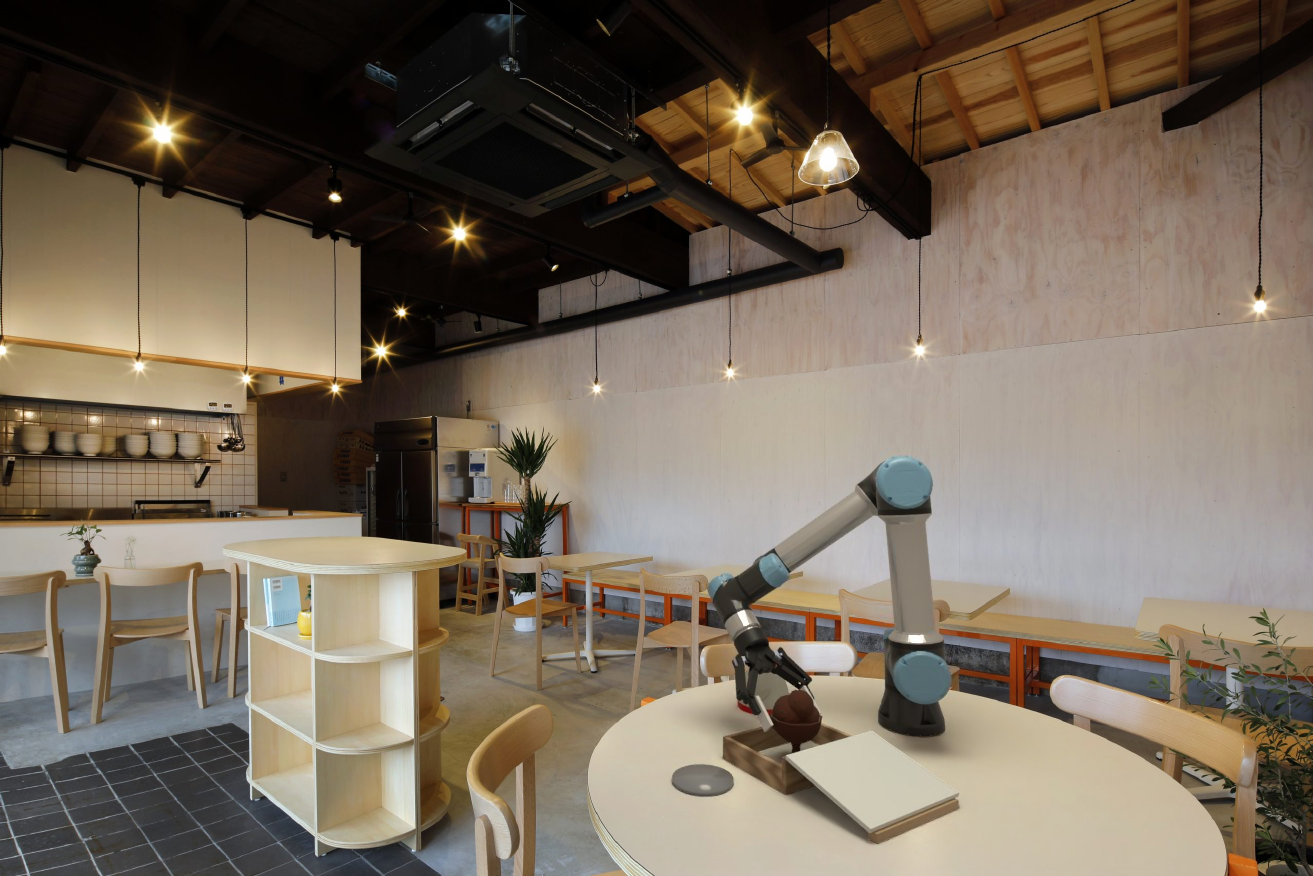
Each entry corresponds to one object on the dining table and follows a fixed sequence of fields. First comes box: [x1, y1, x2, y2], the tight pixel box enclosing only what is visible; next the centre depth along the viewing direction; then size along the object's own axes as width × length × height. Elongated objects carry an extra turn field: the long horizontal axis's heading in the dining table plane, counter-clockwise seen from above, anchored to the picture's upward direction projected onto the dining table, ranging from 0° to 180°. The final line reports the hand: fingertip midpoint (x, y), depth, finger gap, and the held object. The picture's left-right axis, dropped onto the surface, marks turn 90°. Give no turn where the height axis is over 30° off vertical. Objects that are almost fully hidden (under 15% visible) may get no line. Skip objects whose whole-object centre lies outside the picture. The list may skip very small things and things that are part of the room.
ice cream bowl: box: [769, 689, 823, 754], centre depth 135 cm, size 11×11×15 cm
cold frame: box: [722, 722, 853, 796], centre depth 135 cm, size 19×24×6 cm
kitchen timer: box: [737, 664, 790, 715], centre depth 169 cm, size 14×14×15 cm
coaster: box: [671, 763, 735, 797], centre depth 125 cm, size 12×12×1 cm
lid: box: [785, 730, 960, 845], centre depth 118 cm, size 20×24×7 cm
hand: (793, 722), depth 135 cm, fingers open, 13 cm apart
